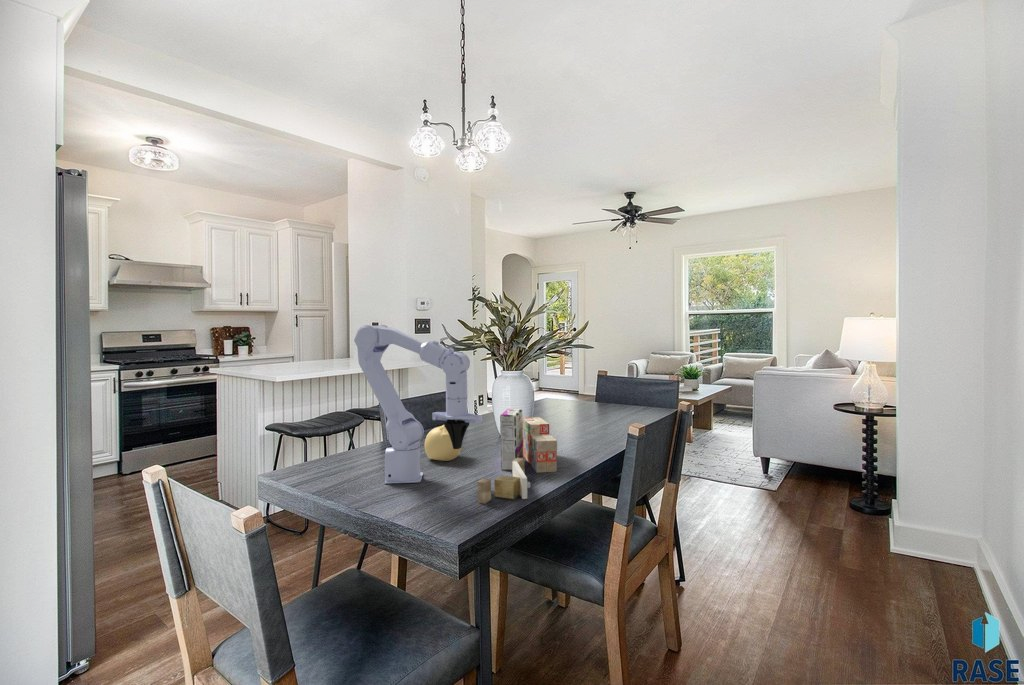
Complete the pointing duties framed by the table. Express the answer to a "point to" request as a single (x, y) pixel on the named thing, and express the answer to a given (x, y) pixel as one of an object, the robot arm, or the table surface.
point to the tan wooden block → (507, 487)
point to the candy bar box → (511, 437)
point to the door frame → (485, 485)
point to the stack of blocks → (539, 445)
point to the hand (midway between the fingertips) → (457, 448)
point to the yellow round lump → (440, 445)
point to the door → (521, 479)
